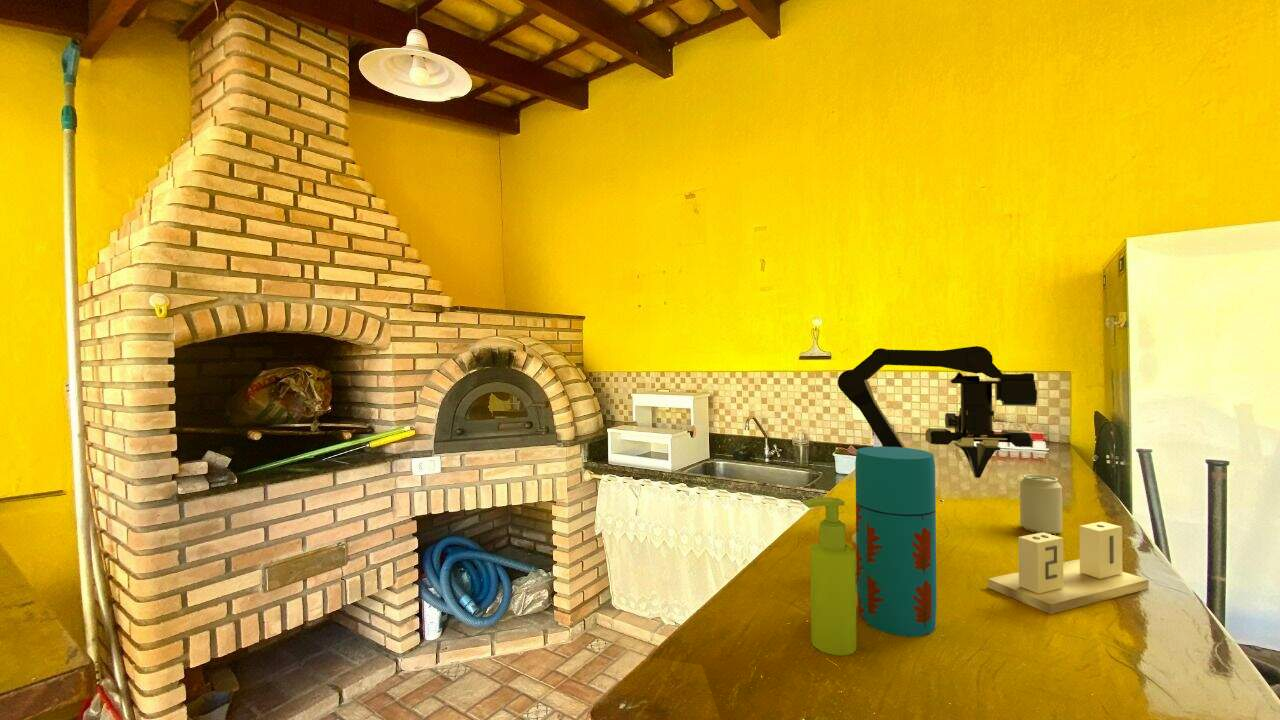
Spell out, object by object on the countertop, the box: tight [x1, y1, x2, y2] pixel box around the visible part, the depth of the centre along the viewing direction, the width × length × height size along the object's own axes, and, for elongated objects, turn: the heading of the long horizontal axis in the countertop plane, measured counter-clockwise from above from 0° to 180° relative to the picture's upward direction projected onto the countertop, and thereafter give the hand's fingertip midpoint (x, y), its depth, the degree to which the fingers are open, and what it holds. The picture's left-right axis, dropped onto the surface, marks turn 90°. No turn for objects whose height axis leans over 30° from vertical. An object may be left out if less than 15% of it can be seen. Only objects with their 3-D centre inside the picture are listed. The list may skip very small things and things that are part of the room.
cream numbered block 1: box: [1078, 521, 1124, 579], centre depth 91 cm, size 3×6×8 cm, turn 110°
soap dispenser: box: [801, 496, 857, 656], centre depth 73 cm, size 6×7×20 cm
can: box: [1019, 473, 1063, 535], centre depth 118 cm, size 8×8×12 cm
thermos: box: [854, 446, 938, 638], centre depth 80 cm, size 11×11×25 cm
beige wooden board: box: [987, 558, 1150, 615], centre depth 89 cm, size 10×24×2 cm, turn 110°
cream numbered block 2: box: [1017, 532, 1064, 594], centre depth 86 cm, size 3×6×8 cm, turn 110°
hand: (977, 477), depth 114 cm, fingers closed
